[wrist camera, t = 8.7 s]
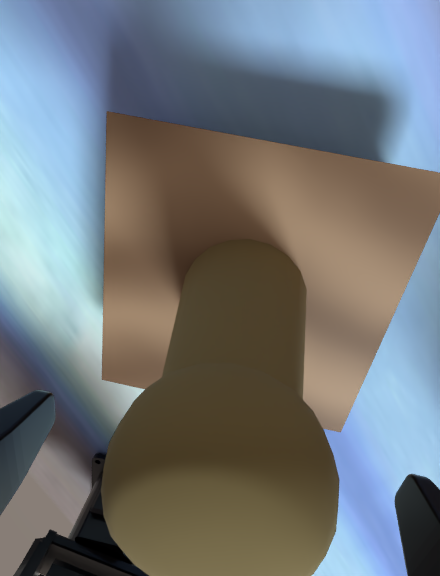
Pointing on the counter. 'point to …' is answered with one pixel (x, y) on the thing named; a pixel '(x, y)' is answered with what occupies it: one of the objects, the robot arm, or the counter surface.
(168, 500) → the cork
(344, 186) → the shelf board
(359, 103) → the counter surface
